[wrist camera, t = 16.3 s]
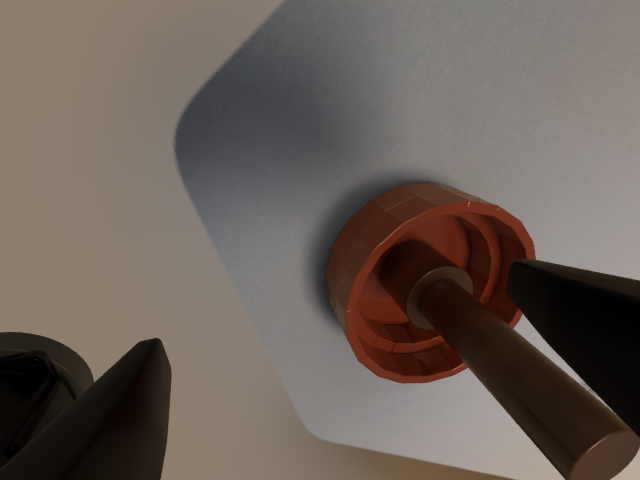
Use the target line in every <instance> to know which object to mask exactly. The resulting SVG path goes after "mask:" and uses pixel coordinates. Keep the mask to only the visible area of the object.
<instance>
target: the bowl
mask: <svg viewBox="0 0 640 480" xmlns="http://www.w3.org/2000/svg"><path fill="white" fill-rule="evenodd" d="M412 240H419V241H424V242H426V243H428V244H430V245H431V246H432V247H434V248H435V249H436V250H438V251H439V252H440V253H442V254H443V255H444V256H446V257H447V258H448V259H450V260H451V261H452V262H454V263H455V264H456V265H458V266H459V267H460V268H462V269H463V270H464V271H465V272H467V273H468V275H469V276H470V278H471V280H472V283H473V296H474V297H475V298H476V299H478V300H479V301H480V302H481V303H482V304H484V305H485V306H486V307H487V308H489V309H490V310H491V311H492V312H493V313H495V314H496V315H497V316H498V317H499V318H501V319H502V320H503V321H504V322H505V323H507V324H508V325H509V326H510V327H511V328H514V327H515V326H516V324H517V323H518V322H519V320H520V318H521V316H522V314H523V313H522V312H521V311H520V309H519V308H518V307H517V306H516V305H515V303H514V302H513V301H512V300H511V298H510V297H509V295H508V293H507V289H506V286H507V280H508V274H509V267H510V265H511V263H512V262H514V261H517V260H521V259H533V260H536V257H535V250H534V244H533V241H532V239H531V237H530V236H529V234H528V232H527V231H526V229H525V227H524V226H523V224H522V222H521V221H520V220H519V219H517V218H516V217H514V216H513V215H511V214H510V213H508V212H507V211H505V210H504V209H502V208H501V207H499V206H497V205H495V204H492V203H490V202H487V201H485V200H482V199H480V198H478V197H475V196H473V195H470V194H468V193H466V192H463V191H461V190H458V189H456V188H453V187H450V186H445V185H440V184H434V183H429V182H423V183H417V184H410V185H404V186H399V187H396V188H394V189H392V190H390V191H388V192H386V193H384V194H382V195H380V196H378V197H376V198H374V199H372V200H371V201H369V202H368V203H367V204H366V205H365V206H364V207H363V208H362V209H361V210H360V211H359V212H357V213H356V214H355V215H354V216H353V217H352V218H351V219H350V220H349V221H348V222H347V223H346V225H345V227H344V228H343V230H342V232H341V233H340V235H339V237H338V238H337V240H336V242H335V243H334V245H333V247H332V250H331V254H330V258H329V262H328V266H327V270H326V283H327V293H328V300H329V302H330V304H331V306H332V308H333V310H334V312H335V314H336V317H337V319H338V321H339V323H340V325H341V327H342V329H343V331H344V334H345V336H346V338H347V340H348V342H349V344H350V346H351V348H352V350H353V352H354V353H355V355H356V357H357V359H358V361H359V362H360V363H362V364H363V365H364V366H365V367H367V368H368V369H369V370H370V371H372V372H373V373H374V374H375V375H377V376H379V377H382V378H385V379H389V380H392V381H395V382H398V383H426V382H427V383H428V382H432V381H435V380H439V379H443V378H446V377H450V376H453V375H455V374H457V373H459V372H461V371H463V370H465V369H467V368H468V367H467V365H466V364H465V363H464V362H463V361H462V360H461V358H460V357H459V356H458V355H457V354H456V353H455V352H454V350H453V349H452V348H451V347H450V346H449V345H448V344H447V342H446V341H445V340H444V339H443V338H442V337H441V335H440V334H439V333H438V332H437V331H436V330H435V329H434V330H426V329H422V328H419V327H417V326H415V325H414V324H413V323H412V322H411V321H410V320H409V319H408V317H407V316H406V315H405V314H404V312H403V311H402V310H401V308H400V307H399V306H398V305H397V303H396V302H395V301H394V300H393V298H392V297H391V296H390V295H389V293H388V292H387V291H386V289H385V288H384V287H383V285H382V283H381V279H380V271H381V266H382V263H383V261H384V259H385V258H386V256H387V255H388V254H389V252H390V251H391V250H393V249H394V248H395V247H396V246H398V245H400V244H402V243H404V242H407V241H412Z"/></svg>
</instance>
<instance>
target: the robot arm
mask: <svg viewBox="0 0 640 480" xmlns="http://www.w3.org/2000/svg"><path fill="white" fill-rule="evenodd" d="M506 289H507V293H508V295H509V297H510V298H511V300H512V301H513V302H514V303H515V305H516V306H517V307H518V308H519V309H520V311H521V312H522V313H523V314H524V316H525V317H526V318H527V319H528V320H529V322H530V323H531V324H532V325H533V327H534V328H535V329H536V330H537V332H538V333H539V334H540V335H541V336H542V337H543V339H544V340H545V341H546V342H547V343H548V344H549V345H550V346H551V347H552V349H553V350H554V351H555V352H556V353H557V354H558V355H559V356H560V357H561V358H562V359H563V360H564V361H565V362H566V363H567V364H568V365H569V366H570V367H571V368H572V369H573V370H574V371H575V372H576V373H577V374H578V375H579V376H580V377H581V378H582V379H583V380H584V381H585V383H586V384H587V385H588V386H589V387H590V388H591V389H592V390H593V391H594V392H595V393H596V394H597V395H598V396H599V397H600V398H601V399H602V400H603V401H604V402H605V403H606V404H607V405H608V406H609V407H610V408H611V409H612V410H613V411H614V412H615V413H616V414H617V415H618V416H619V417H620V418H621V420H622V421H623V422H624V423H625V424H626V425H627V426H628V427H629V428H630V429H631V430H632V431H633V432H634V433H635V434H636V435H637V436H638V437H639V438H640V281H639V280H634V279H629V278H624V277H619V276H614V275H609V274H604V273H599V272H594V271H589V270H584V269H579V268H574V267H569V266H564V265H558V264H553V263H548V262H543V261H538V260H533V259H521V260H517V261H514V262H512V263H511V265H510V267H509V274H508V280H507V286H506ZM34 359H38V360H39V361H36V360H34ZM171 376H172V375H171V366H170V363H169V360H168V357H167V355H166V352H165V349H164V346H163V344H162V341H161V340H160V339H158V338H153V339H149V340H144V341H140V342H138V343H137V344H136V345H135V346H134V347H133V348H132V349H131V350H129V351H128V352H127V353H126V354H125V355H124V356H123V357H122V358H121V359H120V360H119V361H118V362H116V363H115V364H114V365H113V366H112V367H111V368H110V369H109V370H108V371H107V372H105V373H104V374H103V375H102V376H101V377H100V378H99V379H98V380H97V381H96V382H95V383H94V384H92V385H91V386H90V387H89V388H88V389H87V390H86V391H85V392H84V393H83V394H82V395H80V396H79V397H78V398H77V399H76V400H75V401H74V400H73V398H72V396H71V394H70V392H69V391H68V389H67V387H66V385H65V383H64V382H63V381H62V380H61V378H60V376H59V374H58V373H57V371H56V369H55V367H54V365H53V363H52V362H51V360H50V358H49V356H48V355H47V354H46V353H45V352H43V351H40V350H34V351H29V352H25V353H20V354H15V355H10V356H6V357H1V358H0V480H160V479H161V473H162V467H163V462H164V456H165V451H166V444H167V435H168V420H169V406H170V392H171Z"/></svg>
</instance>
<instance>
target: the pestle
mask: <svg viewBox="0 0 640 480" xmlns="http://www.w3.org/2000/svg"><path fill="white" fill-rule="evenodd" d="M380 279H381V283H382V285H383V287H384V288H385V289H386V291H387V292H388V293H389V295H390V296H391V297H392V298H393V300H394V301H395V302H396V303H397V305H398V306H399V307H400V308H401V310H402V311H403V312H404V314H405V315H406V316H407V317H408V319H409V320H410V321H411V322H412V323H413V324H414V325H415V326H417V327H419V328H422V329H426V330H434V329H435V330H436V331H437V332H438V333H439V334H440V335H441V337H442V338H443V339H444V340H445V341H446V342H447V344H448V345H449V346H450V347H451V348H452V349H453V350H454V352H455V353H456V354H457V355H458V356H459V357H460V358H461V360H462V361H463V362H464V363H465V364H466V365H467V367H468V368H469V369H470V370H471V371H472V372H473V373H474V375H475V376H476V377H477V378H478V379H479V380H480V382H481V383H482V384H483V385H484V386H485V387H486V388H487V390H488V391H489V392H490V393H491V394H492V395H493V397H494V398H495V399H496V400H497V401H498V402H499V403H500V405H501V406H502V407H503V408H504V409H505V410H506V412H507V413H508V414H509V415H510V416H511V417H512V418H513V420H514V421H515V422H516V423H517V424H518V425H519V426H520V428H521V429H522V430H523V431H524V432H525V433H526V435H527V436H528V437H529V438H530V439H531V440H532V441H533V443H534V444H535V445H536V446H537V447H538V448H539V450H540V451H541V452H542V453H543V454H544V455H545V456H546V458H547V459H548V460H549V461H550V462H551V463H552V465H553V466H554V467H555V468H556V469H557V470H558V471H559V473H560V474H561V475H562V476H563V477H564V478H565V480H610V479H611V478H613V477H614V476H616V475H617V474H619V473H620V472H621V471H622V470H623V469H624V468H625V467H626V466H627V465H628V464H629V463H630V462H631V461H632V460H633V458H634V457H635V455H636V454H637V452H638V450H639V448H640V438H639V437H638V436H637V435H636V434H635V433H634V432H633V431H632V430H631V429H630V428H629V427H628V426H627V425H626V424H625V423H624V422H623V421H622V420H621V418H620V417H619V416H617V415H616V414H615V413H614V412H613V411H611V410H610V409H609V408H608V407H607V406H605V405H604V404H603V403H602V402H601V401H599V400H598V399H597V398H596V397H595V396H593V395H592V394H591V393H590V392H589V391H587V390H586V389H585V388H584V387H583V386H581V385H580V384H579V383H578V382H576V381H575V380H574V379H573V378H572V377H570V376H569V375H568V374H567V373H566V372H564V371H563V370H562V369H561V368H560V367H558V366H557V365H556V364H555V363H554V362H552V361H551V360H550V359H549V358H548V357H546V356H545V355H544V354H543V353H542V352H540V351H539V350H538V349H537V348H536V347H534V346H533V345H532V344H531V343H529V342H528V341H527V340H526V339H525V338H523V337H522V336H521V335H520V334H519V333H517V332H516V331H515V330H514V329H513V328H511V327H510V326H509V325H508V324H507V323H505V322H504V321H503V320H502V319H501V318H499V317H498V316H497V315H496V314H495V313H493V312H492V311H491V310H490V309H489V308H487V307H486V306H485V305H484V304H482V303H481V302H480V301H479V300H478V299H476V298H475V297H474V296H473V283H472V280H471V278H470V276H469V275H468V273H467V272H465V271H464V270H463V269H462V268H460V267H459V266H458V265H456V264H455V263H454V262H452V261H451V260H450V259H448V258H447V257H446V256H444V255H443V254H442V253H440V252H439V251H438V250H436V249H435V248H434V247H432V246H431V245H430V244H428V243H426V242H424V241H419V240H412V241H407V242H404V243H402V244H400V245H398V246H396V247H395V248H394V249H393V250H391V251H390V252H389V254H388V255H387V256H386V258H385V259H384V261H383V263H382V266H381V271H380Z"/></svg>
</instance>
